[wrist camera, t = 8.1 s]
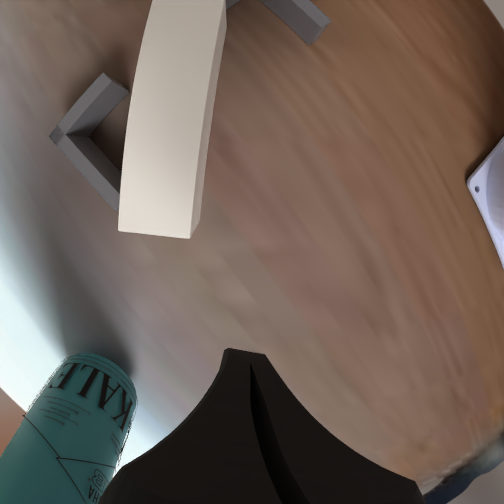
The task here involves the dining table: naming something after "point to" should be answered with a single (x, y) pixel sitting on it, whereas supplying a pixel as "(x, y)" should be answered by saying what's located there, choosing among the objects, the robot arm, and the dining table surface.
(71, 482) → the beverage bottle
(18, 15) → the dining table surface
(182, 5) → the cream rectangular block
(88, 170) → the end cap
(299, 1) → the end cap
